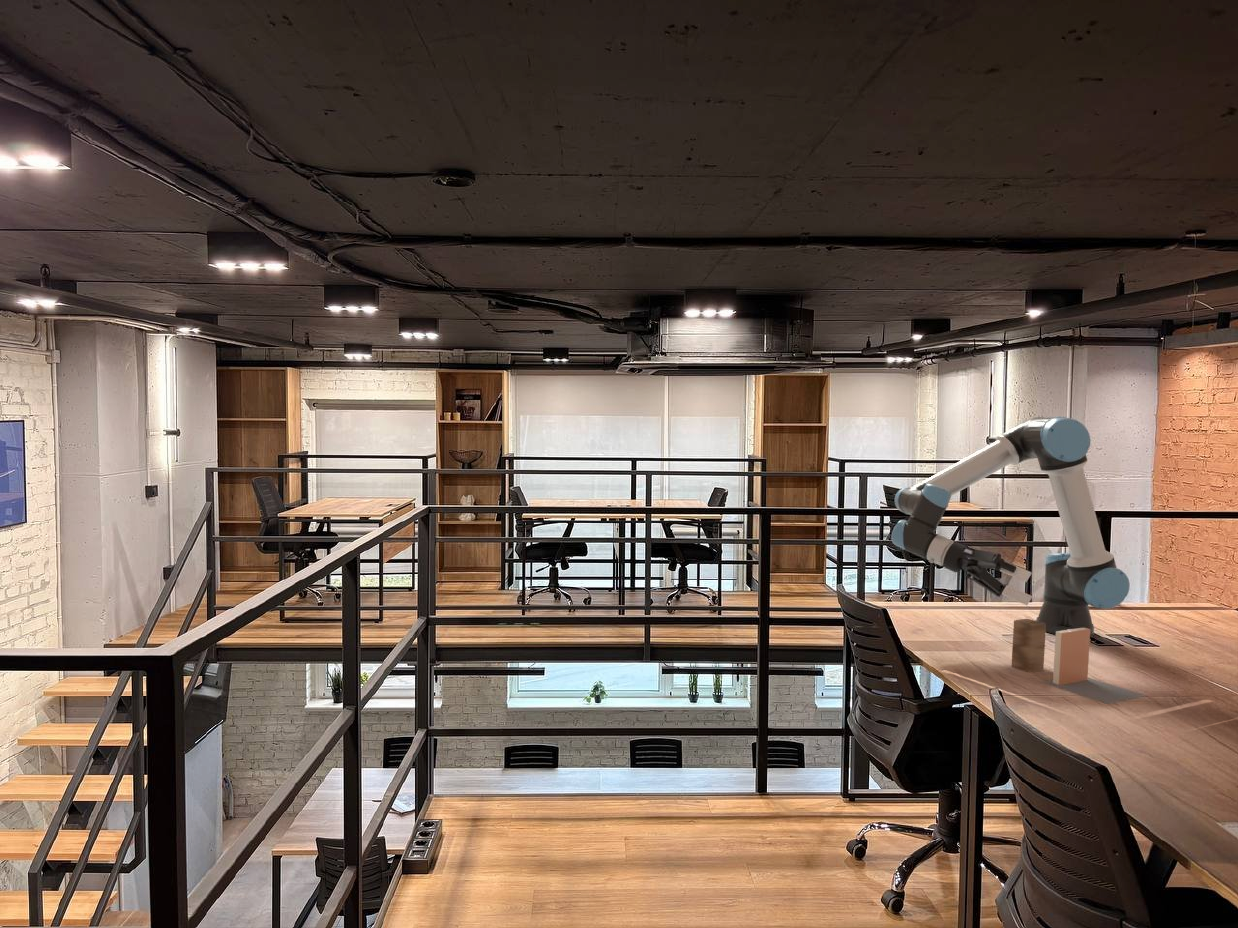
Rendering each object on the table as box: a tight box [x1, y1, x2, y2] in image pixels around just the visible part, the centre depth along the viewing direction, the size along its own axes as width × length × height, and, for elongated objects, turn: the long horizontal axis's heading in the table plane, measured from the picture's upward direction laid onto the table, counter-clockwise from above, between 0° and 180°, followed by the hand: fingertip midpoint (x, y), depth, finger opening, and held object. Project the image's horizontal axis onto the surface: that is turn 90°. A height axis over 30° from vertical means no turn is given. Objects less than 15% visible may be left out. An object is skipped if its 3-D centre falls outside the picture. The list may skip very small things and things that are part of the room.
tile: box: [1052, 628, 1091, 685], centre depth 190 cm, size 2×10×12 cm, turn 117°
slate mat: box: [1044, 677, 1148, 705], centre depth 185 cm, size 15×14×1 cm
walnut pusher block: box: [1011, 618, 1047, 673], centre depth 200 cm, size 5×5×12 cm
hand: (1029, 589), depth 206 cm, fingers open, 13 cm apart
